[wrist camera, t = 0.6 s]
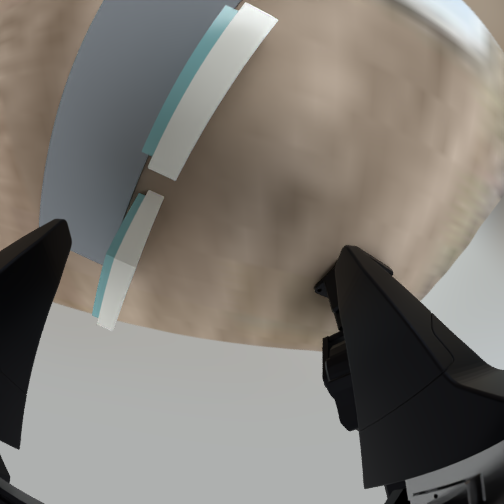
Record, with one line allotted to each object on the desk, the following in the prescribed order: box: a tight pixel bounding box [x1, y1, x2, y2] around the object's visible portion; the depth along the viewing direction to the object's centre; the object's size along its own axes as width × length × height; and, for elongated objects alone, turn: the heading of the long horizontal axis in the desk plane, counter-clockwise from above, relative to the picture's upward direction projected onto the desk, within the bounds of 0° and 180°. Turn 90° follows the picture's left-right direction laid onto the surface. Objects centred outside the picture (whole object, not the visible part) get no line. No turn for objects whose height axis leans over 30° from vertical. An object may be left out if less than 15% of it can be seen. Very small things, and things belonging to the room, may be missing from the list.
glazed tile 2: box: [92, 190, 164, 331], centre depth 19 cm, size 2×8×8 cm, turn 148°
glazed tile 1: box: [141, 2, 278, 181], centre depth 12 cm, size 2×8×8 cm, turn 148°
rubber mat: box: [39, 0, 241, 265], centre depth 16 cm, size 9×27×1 cm, turn 148°
